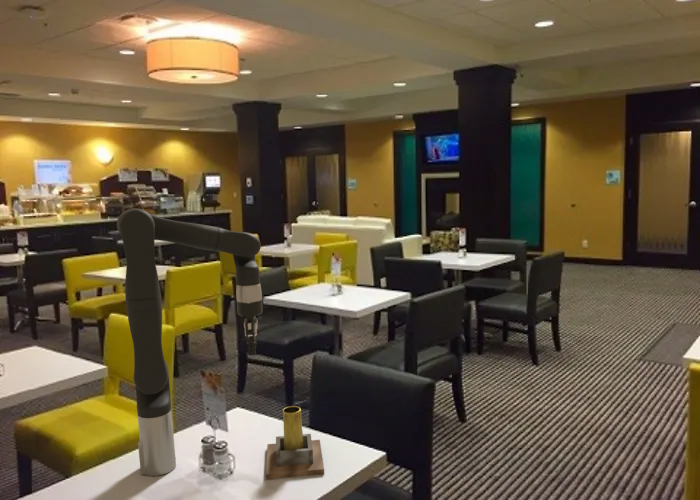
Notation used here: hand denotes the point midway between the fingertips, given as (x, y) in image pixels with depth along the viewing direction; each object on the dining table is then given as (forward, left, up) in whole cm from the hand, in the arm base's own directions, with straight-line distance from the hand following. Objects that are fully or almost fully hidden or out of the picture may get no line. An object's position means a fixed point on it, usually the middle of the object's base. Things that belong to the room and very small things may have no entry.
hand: (252, 350), depth 179 cm
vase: (+11, -13, -29) cm, 33 cm away
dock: (+11, -13, -30) cm, 35 cm away
